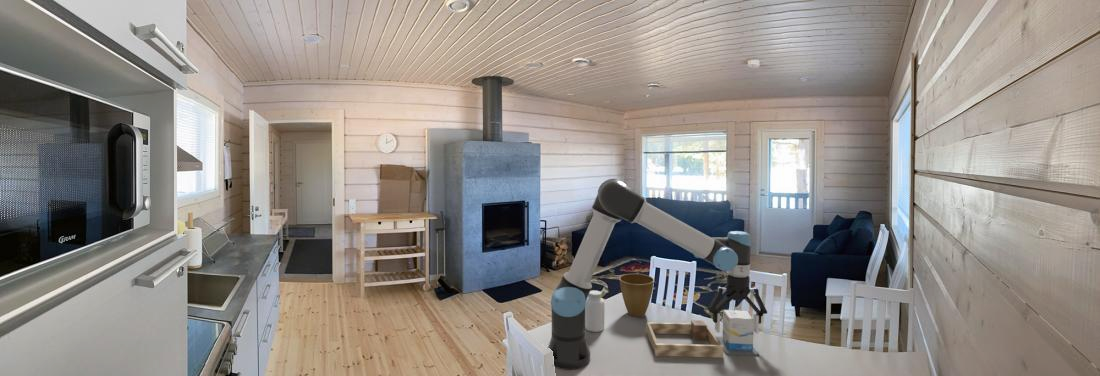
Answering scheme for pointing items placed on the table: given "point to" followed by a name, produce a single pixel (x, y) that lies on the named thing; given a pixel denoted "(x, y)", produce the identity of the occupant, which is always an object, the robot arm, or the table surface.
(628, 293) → the plant pot
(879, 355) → the table surface
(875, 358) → the table surface
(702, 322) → the walnut block
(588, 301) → the white bottle
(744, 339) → the ink box
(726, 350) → the grey mat
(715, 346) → the frame
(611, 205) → the robot arm
